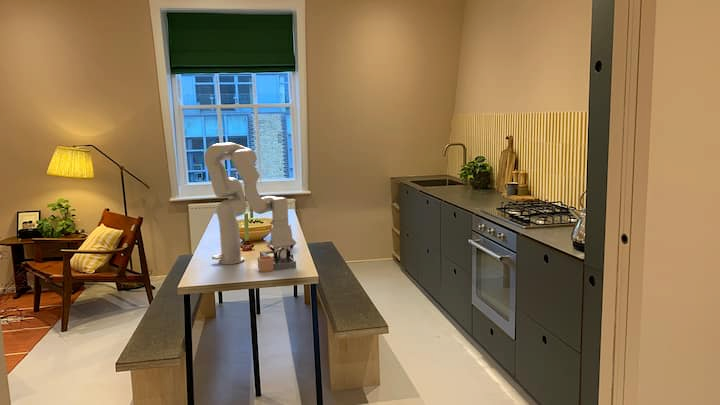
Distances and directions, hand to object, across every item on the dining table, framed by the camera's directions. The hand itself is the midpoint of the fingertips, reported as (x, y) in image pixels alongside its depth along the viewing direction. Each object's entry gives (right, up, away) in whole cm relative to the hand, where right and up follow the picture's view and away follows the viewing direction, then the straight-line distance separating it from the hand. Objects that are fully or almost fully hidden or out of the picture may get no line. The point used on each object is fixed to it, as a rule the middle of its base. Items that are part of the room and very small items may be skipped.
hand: (282, 258), depth 264 cm
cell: (0, -3, 0) cm, 3 cm away
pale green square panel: (-5, 0, +14) cm, 15 cm away
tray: (0, -4, +1) cm, 4 cm away
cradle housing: (-5, -1, +15) cm, 15 cm away
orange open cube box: (-7, -5, -6) cm, 10 cm away
